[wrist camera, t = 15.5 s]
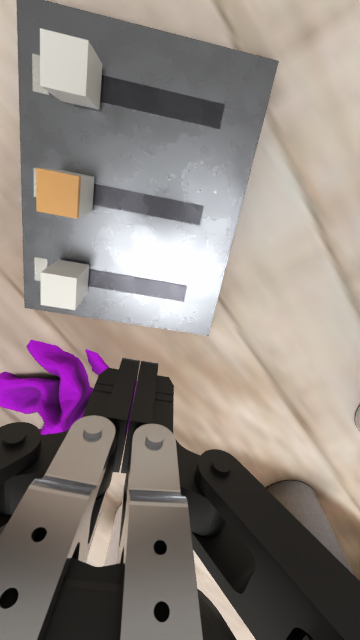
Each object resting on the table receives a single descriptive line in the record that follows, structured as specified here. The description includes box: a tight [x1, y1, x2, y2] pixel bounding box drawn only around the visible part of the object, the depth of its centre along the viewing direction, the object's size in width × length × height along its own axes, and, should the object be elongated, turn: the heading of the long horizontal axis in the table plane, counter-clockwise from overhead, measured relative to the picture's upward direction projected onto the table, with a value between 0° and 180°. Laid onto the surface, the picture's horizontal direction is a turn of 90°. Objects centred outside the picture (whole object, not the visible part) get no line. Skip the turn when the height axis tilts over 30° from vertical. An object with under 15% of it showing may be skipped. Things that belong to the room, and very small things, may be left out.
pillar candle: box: [267, 480, 354, 575], centre depth 43 cm, size 10×10×15 cm
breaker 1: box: [40, 28, 102, 110], centre depth 22 cm, size 3×3×4 cm
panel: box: [17, 0, 279, 336], centre depth 29 cm, size 20×25×2 cm
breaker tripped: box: [36, 168, 94, 219], centre depth 25 cm, size 3×3×5 cm
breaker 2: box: [41, 259, 89, 310], centre depth 28 cm, size 3×3×4 cm
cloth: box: [0, 340, 137, 435], centre depth 37 cm, size 22×19×6 cm
